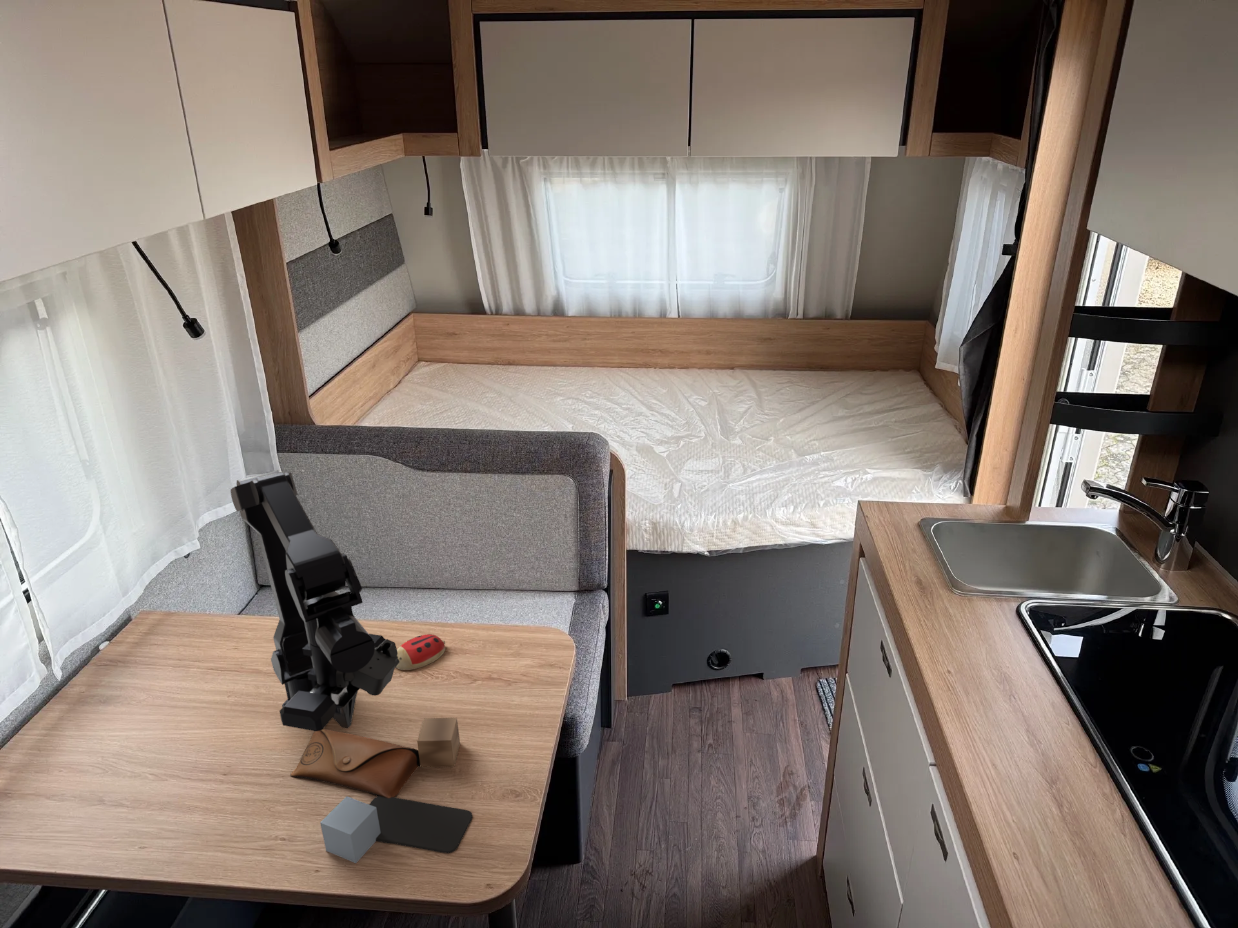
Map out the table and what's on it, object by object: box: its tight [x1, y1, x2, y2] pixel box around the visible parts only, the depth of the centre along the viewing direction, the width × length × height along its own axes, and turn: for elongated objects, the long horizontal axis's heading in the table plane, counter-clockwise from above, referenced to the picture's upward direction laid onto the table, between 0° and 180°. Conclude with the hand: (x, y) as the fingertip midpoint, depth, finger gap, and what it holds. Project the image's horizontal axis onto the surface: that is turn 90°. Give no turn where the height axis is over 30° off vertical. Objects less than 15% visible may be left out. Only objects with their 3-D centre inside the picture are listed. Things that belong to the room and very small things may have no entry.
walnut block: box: [416, 717, 461, 768], centre depth 127 cm, size 5×5×5 cm
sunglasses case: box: [290, 728, 421, 798], centre depth 125 cm, size 18×7×7 cm
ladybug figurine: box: [395, 633, 446, 671], centre depth 150 cm, size 7×10×4 cm
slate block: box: [319, 796, 381, 864], centre depth 112 cm, size 5×5×5 cm
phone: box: [369, 796, 473, 854], centre depth 116 cm, size 7×1×15 cm
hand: (346, 726), depth 122 cm, fingers closed
